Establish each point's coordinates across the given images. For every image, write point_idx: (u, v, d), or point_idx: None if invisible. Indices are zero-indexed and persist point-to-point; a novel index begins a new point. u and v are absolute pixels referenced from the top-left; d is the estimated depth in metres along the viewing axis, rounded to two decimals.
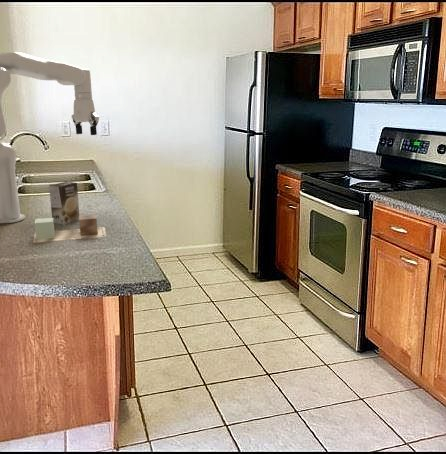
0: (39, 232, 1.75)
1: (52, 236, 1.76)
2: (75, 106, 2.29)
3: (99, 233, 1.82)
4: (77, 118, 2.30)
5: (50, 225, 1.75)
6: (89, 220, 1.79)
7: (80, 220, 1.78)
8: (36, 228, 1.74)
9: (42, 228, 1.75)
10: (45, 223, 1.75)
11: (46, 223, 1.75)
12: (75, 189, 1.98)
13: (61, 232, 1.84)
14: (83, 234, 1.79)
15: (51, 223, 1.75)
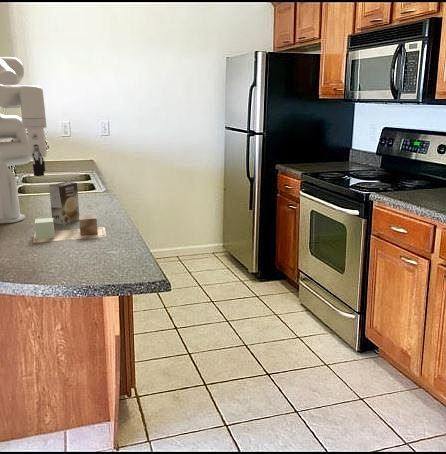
0: (39, 232, 1.75)
1: (52, 236, 1.76)
2: (43, 136, 1.68)
3: (99, 233, 1.82)
4: None
5: (50, 225, 1.75)
6: (89, 220, 1.79)
7: (80, 220, 1.78)
8: (36, 228, 1.74)
9: (42, 228, 1.75)
10: (45, 223, 1.75)
11: (46, 223, 1.75)
12: (75, 189, 1.98)
13: (61, 232, 1.84)
14: (83, 234, 1.79)
15: (51, 223, 1.75)
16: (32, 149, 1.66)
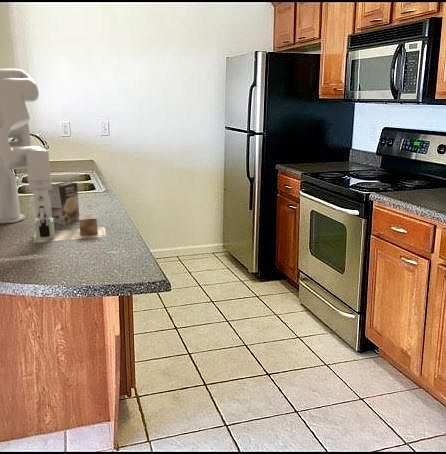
0: (39, 232, 1.75)
1: (52, 236, 1.76)
2: (49, 197, 1.73)
3: (99, 233, 1.82)
4: (51, 212, 1.75)
5: (50, 225, 1.75)
6: (89, 220, 1.79)
7: (80, 220, 1.78)
8: (36, 228, 1.74)
9: None
10: None
11: None
12: (75, 189, 1.98)
13: (61, 232, 1.84)
14: (83, 234, 1.79)
15: (51, 223, 1.75)
16: (38, 210, 1.71)
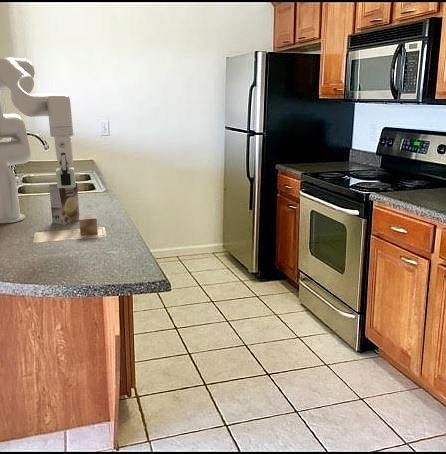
0: (60, 181, 1.72)
1: (73, 185, 1.74)
2: (70, 145, 1.70)
3: (99, 233, 1.82)
4: (72, 160, 1.73)
5: (72, 174, 1.73)
6: (89, 220, 1.79)
7: (80, 220, 1.78)
8: (57, 176, 1.72)
9: None
10: None
11: None
12: (75, 189, 1.98)
13: (61, 232, 1.84)
14: (83, 234, 1.79)
15: (72, 171, 1.72)
16: (59, 157, 1.68)
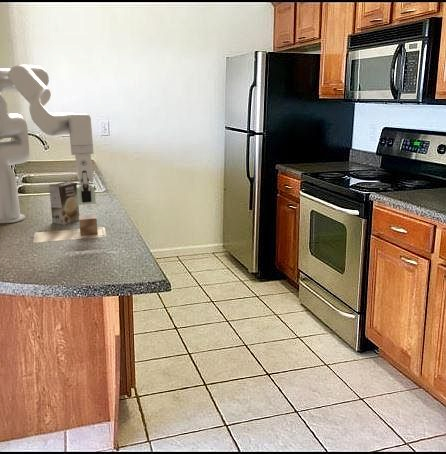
0: (81, 198, 1.76)
1: (94, 202, 1.77)
2: (91, 162, 1.74)
3: (99, 233, 1.82)
4: None
5: (92, 190, 1.76)
6: (89, 220, 1.79)
7: (80, 220, 1.78)
8: (78, 193, 1.75)
9: None
10: None
11: None
12: (75, 189, 1.98)
13: (61, 232, 1.84)
14: (83, 234, 1.79)
15: (93, 188, 1.76)
16: (81, 175, 1.72)
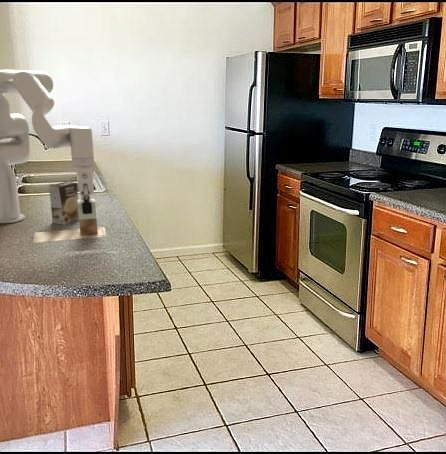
0: (81, 213, 1.77)
1: (94, 216, 1.79)
2: (92, 175, 1.75)
3: (99, 233, 1.82)
4: None
5: (93, 205, 1.78)
6: (89, 220, 1.79)
7: (80, 220, 1.78)
8: (79, 208, 1.77)
9: None
10: None
11: None
12: (75, 189, 1.98)
13: (61, 232, 1.84)
14: (83, 234, 1.79)
15: (93, 203, 1.78)
16: (81, 188, 1.73)
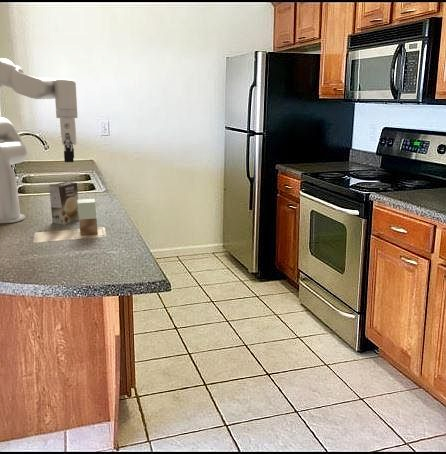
0: (81, 213, 1.77)
1: (94, 216, 1.79)
2: (74, 126, 1.83)
3: (99, 233, 1.82)
4: None
5: (93, 205, 1.78)
6: (89, 220, 1.79)
7: (80, 220, 1.78)
8: (79, 208, 1.77)
9: (85, 208, 1.77)
10: (88, 203, 1.77)
11: (89, 203, 1.77)
12: (75, 189, 1.98)
13: (61, 232, 1.84)
14: (83, 234, 1.79)
15: (93, 203, 1.78)
16: (64, 137, 1.81)
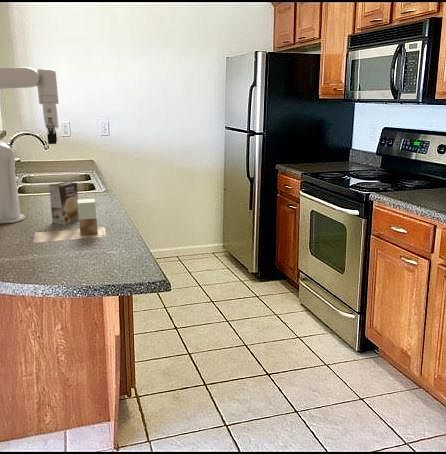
0: (81, 213, 1.77)
1: (94, 216, 1.79)
2: (56, 111, 2.02)
3: (99, 233, 1.82)
4: None
5: (93, 205, 1.78)
6: (89, 220, 1.79)
7: (80, 220, 1.78)
8: (79, 208, 1.77)
9: (85, 208, 1.77)
10: (88, 203, 1.77)
11: (89, 203, 1.77)
12: (75, 189, 1.98)
13: (61, 232, 1.84)
14: (83, 234, 1.79)
15: (93, 203, 1.78)
16: (47, 121, 2.00)
